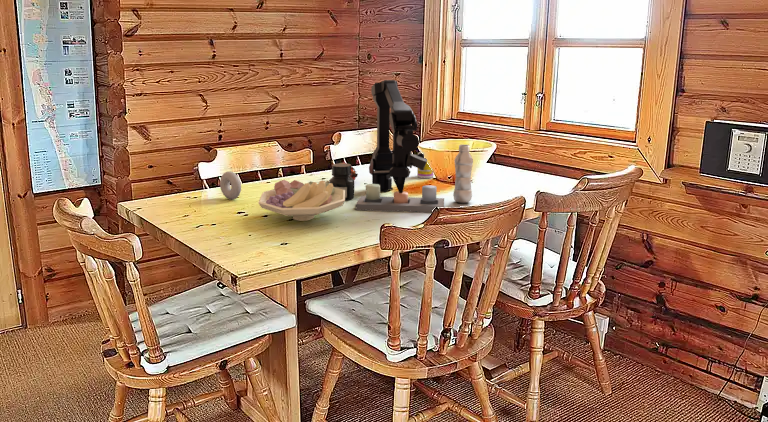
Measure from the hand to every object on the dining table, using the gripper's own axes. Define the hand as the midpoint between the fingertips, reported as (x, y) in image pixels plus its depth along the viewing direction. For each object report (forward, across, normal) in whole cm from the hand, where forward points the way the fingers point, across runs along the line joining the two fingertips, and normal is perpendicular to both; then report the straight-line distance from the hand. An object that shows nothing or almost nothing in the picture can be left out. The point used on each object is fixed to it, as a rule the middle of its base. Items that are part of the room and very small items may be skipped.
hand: (400, 192), depth 229 cm
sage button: (+2, 0, +9) cm, 10 cm away
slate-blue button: (+2, 0, -9) cm, 10 cm away
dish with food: (+5, -18, +30) cm, 35 cm away
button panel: (+5, 0, 0) cm, 5 cm away
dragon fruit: (+5, +37, +25) cm, 45 cm away
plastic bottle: (+5, +9, -21) cm, 23 cm away
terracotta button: (+4, 0, 0) cm, 4 cm away
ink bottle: (+5, +10, +22) cm, 24 cm away
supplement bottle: (+5, +51, -6) cm, 52 cm away
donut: (+5, +4, +60) cm, 60 cm away
